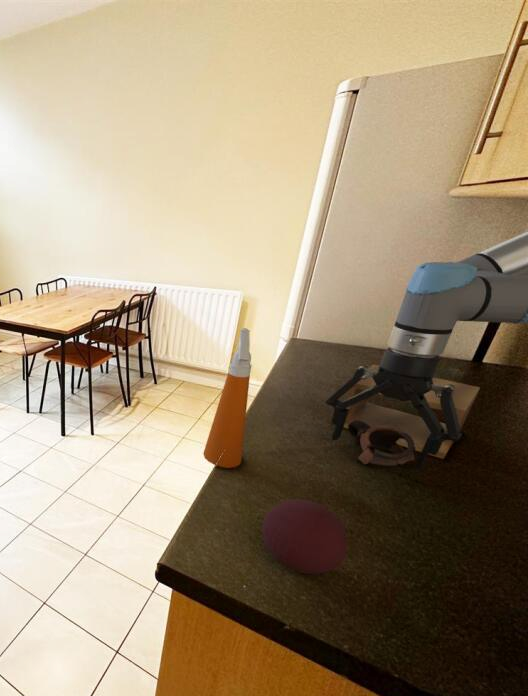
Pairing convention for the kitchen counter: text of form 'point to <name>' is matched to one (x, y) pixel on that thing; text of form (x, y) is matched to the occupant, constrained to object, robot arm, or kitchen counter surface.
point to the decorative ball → (305, 536)
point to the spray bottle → (231, 410)
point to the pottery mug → (381, 443)
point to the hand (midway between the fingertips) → (374, 451)
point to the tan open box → (409, 422)
